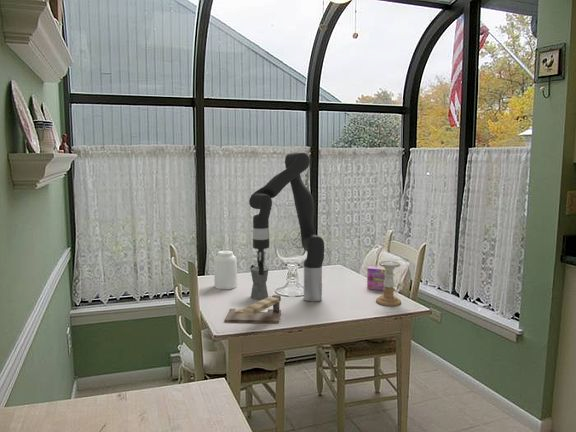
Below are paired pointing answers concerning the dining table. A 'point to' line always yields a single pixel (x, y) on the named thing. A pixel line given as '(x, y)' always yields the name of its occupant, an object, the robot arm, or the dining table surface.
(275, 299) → the swing arm
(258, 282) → the coffeepot
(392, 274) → the candle holder
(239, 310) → the label board
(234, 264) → the white jar
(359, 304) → the dining table surface
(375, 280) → the box
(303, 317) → the dining table surface
